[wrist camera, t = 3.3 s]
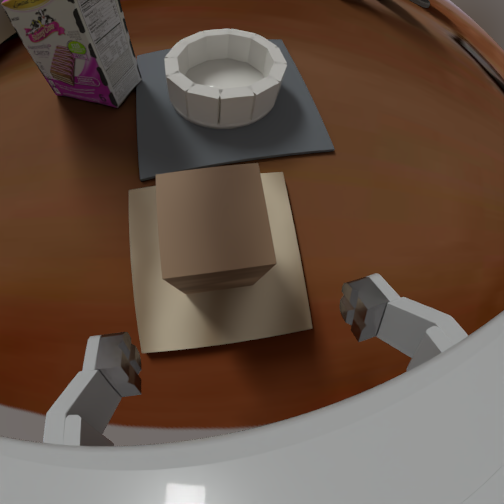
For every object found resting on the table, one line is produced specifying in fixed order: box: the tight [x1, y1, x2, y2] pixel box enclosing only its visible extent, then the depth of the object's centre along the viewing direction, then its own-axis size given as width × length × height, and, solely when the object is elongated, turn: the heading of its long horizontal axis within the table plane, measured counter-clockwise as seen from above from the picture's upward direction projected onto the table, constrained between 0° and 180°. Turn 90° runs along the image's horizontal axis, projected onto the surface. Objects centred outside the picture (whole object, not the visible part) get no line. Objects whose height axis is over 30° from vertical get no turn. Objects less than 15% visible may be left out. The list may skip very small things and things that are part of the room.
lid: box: [129, 163, 312, 353], centre depth 18 cm, size 13×13×10 cm
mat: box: [136, 40, 334, 181], centre depth 26 cm, size 18×18×1 cm
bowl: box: [164, 29, 287, 129], centre depth 24 cm, size 11×11×4 cm
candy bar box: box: [1, 0, 142, 108], centre depth 17 cm, size 11×5×16 cm, turn 67°
